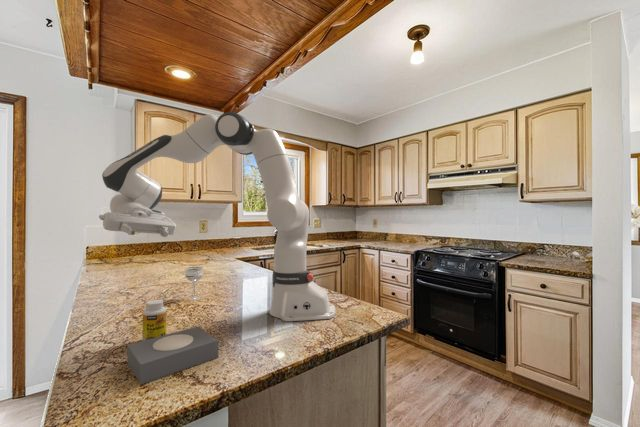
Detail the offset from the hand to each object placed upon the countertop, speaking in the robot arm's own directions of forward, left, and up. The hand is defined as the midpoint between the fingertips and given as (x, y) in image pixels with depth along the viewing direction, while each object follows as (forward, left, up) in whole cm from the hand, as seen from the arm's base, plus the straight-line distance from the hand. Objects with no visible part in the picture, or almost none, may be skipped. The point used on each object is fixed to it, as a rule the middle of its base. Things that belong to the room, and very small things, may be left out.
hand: (149, 233), depth 90 cm
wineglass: (-1, -27, -28) cm, 39 cm away
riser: (-18, +21, -28) cm, 39 cm away
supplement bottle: (-8, +11, -28) cm, 31 cm away
